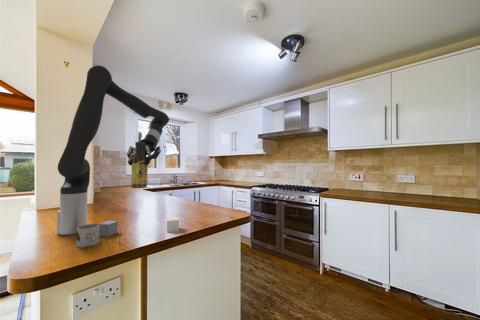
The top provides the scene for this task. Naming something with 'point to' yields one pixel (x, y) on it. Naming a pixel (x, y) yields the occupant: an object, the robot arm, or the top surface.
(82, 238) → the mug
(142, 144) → the sauce bottle
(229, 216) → the top surface
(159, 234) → the top surface
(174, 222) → the off-white block
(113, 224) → the slate block
